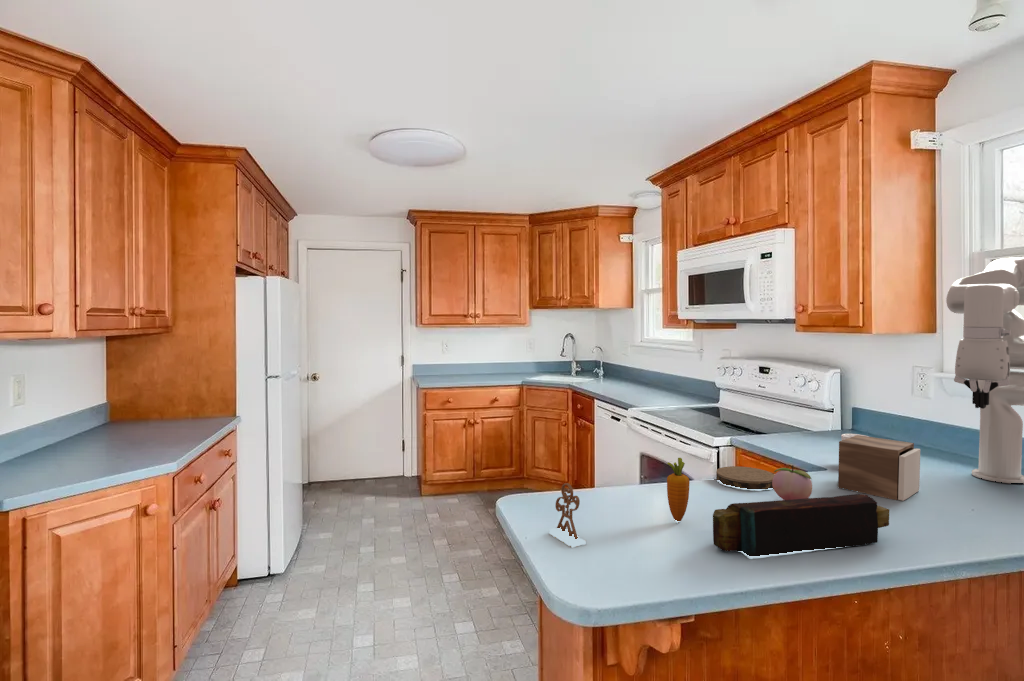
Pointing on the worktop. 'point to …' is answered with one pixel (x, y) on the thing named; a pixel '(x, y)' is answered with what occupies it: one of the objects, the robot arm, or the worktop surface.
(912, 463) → the drawer
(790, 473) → the decorative fruit
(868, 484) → the cabinet
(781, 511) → the packaged item
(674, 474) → the carrot
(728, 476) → the brown round disc
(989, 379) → the robot arm
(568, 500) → the gingerbread man figurine
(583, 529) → the worktop surface
